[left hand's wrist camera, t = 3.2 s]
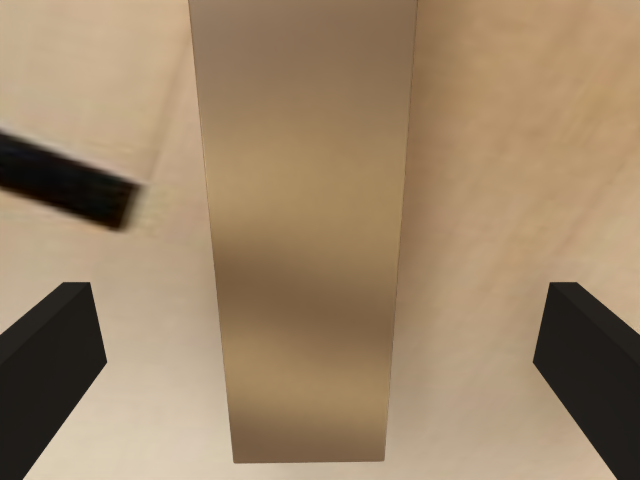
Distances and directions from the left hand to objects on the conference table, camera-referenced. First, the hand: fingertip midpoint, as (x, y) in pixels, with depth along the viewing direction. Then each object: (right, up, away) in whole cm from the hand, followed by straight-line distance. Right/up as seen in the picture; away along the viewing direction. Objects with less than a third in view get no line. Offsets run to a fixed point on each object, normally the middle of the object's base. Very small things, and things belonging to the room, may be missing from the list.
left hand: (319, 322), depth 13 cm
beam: (0, +21, -1) cm, 21 cm away
